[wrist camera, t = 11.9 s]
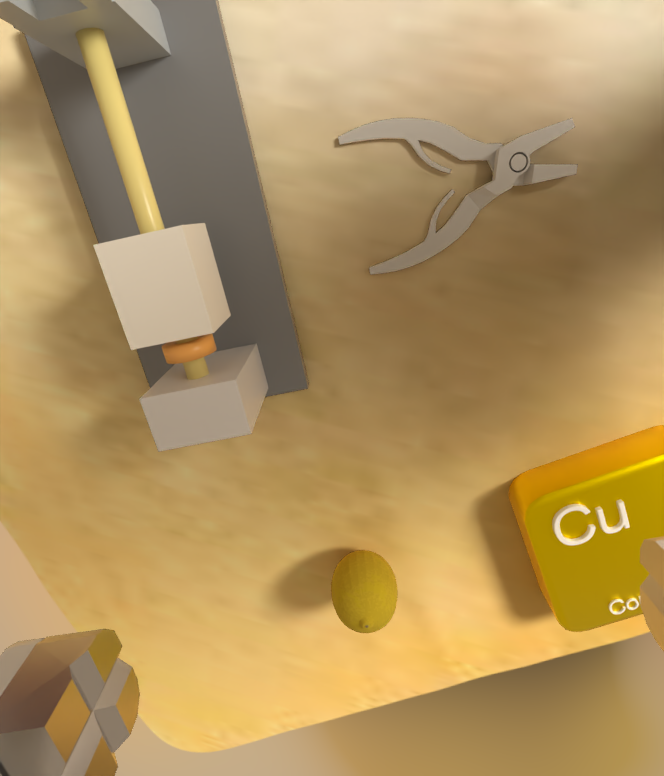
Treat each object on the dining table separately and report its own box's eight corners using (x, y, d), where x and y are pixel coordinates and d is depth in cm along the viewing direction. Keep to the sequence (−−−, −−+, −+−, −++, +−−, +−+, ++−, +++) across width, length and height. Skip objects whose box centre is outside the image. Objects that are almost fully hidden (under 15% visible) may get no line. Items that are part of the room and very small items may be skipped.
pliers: (337, 130, 32) (569, 61, 31) (336, 134, 34) (558, 68, 32) (372, 279, 35) (583, 222, 34) (370, 276, 37) (573, 221, 35)
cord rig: (212, -22, 30) (141, -159, 19) (308, 383, 39) (298, 453, 28) (30, 25, 31) (-142, -79, 20) (165, 411, 40) (99, 490, 29)
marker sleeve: (204, 222, 31) (181, 225, 26) (230, 315, 33) (213, 333, 28) (129, 239, 31) (92, 244, 27) (159, 330, 33) (130, 350, 29)
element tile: (544, 603, 47) (566, 644, 43) (500, 476, 43) (520, 508, 38) (703, 553, 45) (744, 591, 41) (676, 415, 41) (719, 440, 36)
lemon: (387, 527, 44) (398, 593, 36) (395, 577, 46) (407, 649, 38) (326, 536, 44) (324, 603, 37) (336, 585, 46) (337, 658, 39)
